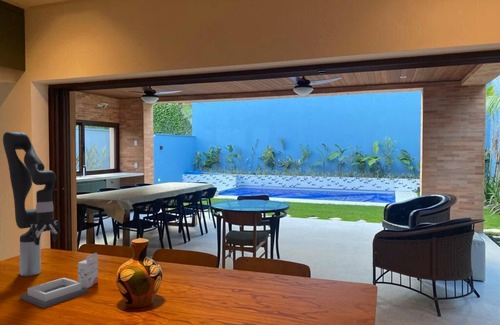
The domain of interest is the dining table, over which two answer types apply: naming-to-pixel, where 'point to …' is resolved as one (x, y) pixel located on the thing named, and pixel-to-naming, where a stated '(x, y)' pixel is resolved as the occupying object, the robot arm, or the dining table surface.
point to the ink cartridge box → (88, 271)
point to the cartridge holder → (54, 292)
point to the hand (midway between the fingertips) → (45, 243)
